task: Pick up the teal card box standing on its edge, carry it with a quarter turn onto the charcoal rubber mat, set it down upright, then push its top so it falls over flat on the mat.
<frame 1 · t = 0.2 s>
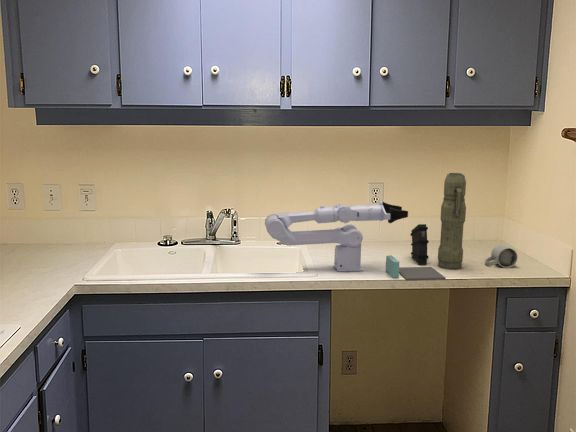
hand: (404, 211, 211), 21 cm above the worktop, tool horizontal, fingers open, 7 cm apart
ceramic mug: (499, 266, 220), on the worktop
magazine: (418, 261, 225), on the worktop
mat: (419, 274, 207), on the worktop
card box: (392, 275, 205), on the worktop
thermos: (449, 266, 217), on the worktop
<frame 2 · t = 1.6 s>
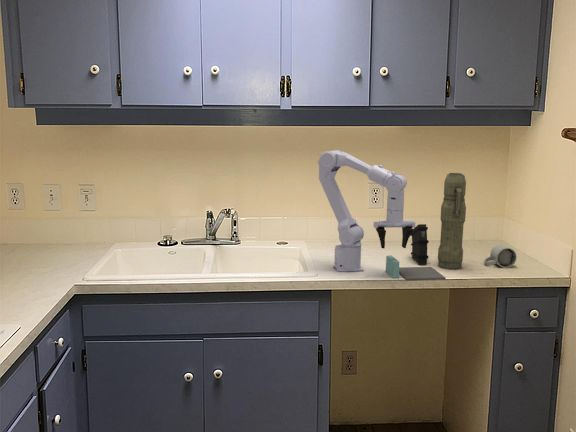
hand: (393, 247, 203), 10 cm above the worktop, tool pointing down, fingers open, 7 cm apart
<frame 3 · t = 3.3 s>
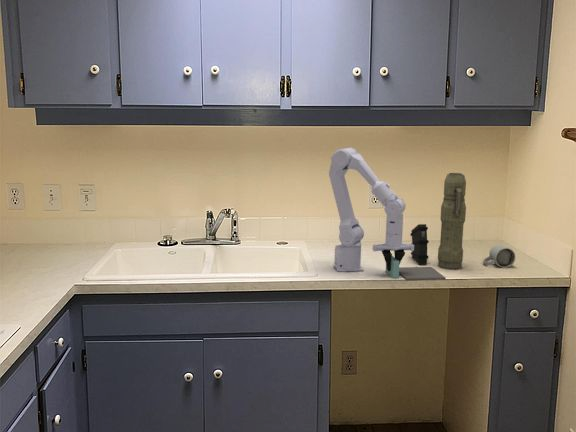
hand: (392, 270, 205), 2 cm above the worktop, tool pointing down, fingers closed on card box, 2 cm apart
card box: (392, 274, 205), on the worktop, touching gripper
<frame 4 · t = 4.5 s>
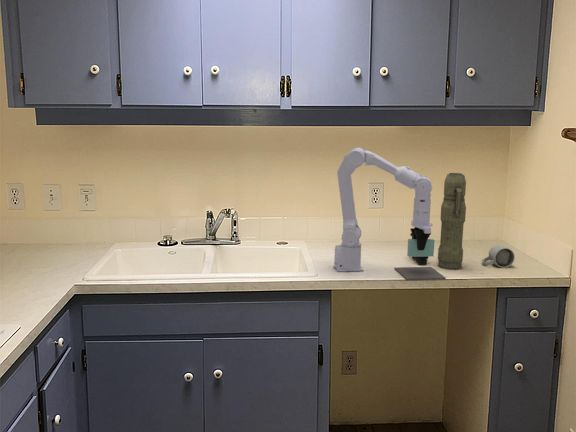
hand: (419, 249, 206), 9 cm above the worktop, tool pointing down, fingers closed on card box
card box: (420, 255, 206), point 6 cm above the worktop, touching gripper
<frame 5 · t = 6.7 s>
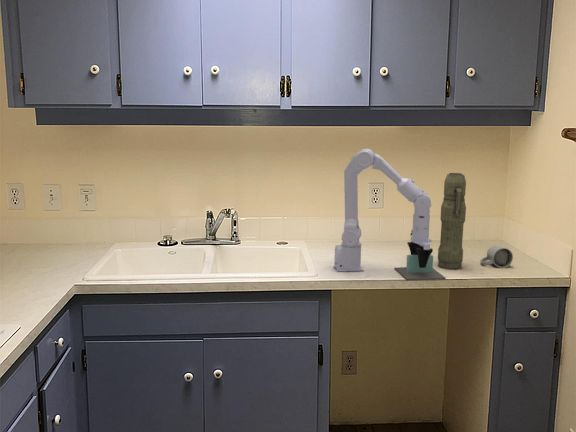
hand: (418, 264, 207), 3 cm above the worktop, tool pointing down, fingers open, 7 cm apart
card box: (419, 271, 207), point 1 cm above the worktop, touching mat
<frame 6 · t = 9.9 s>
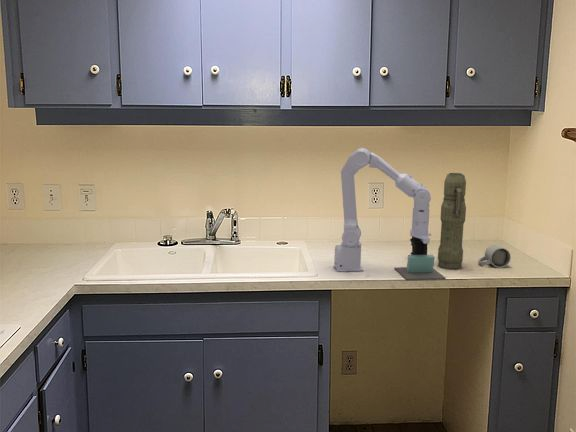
hand: (418, 258, 207), 5 cm above the worktop, tool pointing down, fingers closed
card box: (419, 271, 207), point 1 cm above the worktop, tilted 13°, touching mat
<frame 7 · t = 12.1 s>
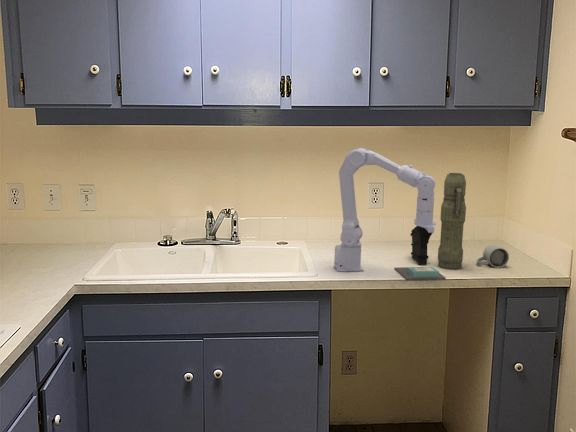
hand: (422, 248, 203), 10 cm above the worktop, tool pointing down, fingers closed
card box: (420, 269, 206), point 2 cm above the worktop, tilted 90°, touching mat
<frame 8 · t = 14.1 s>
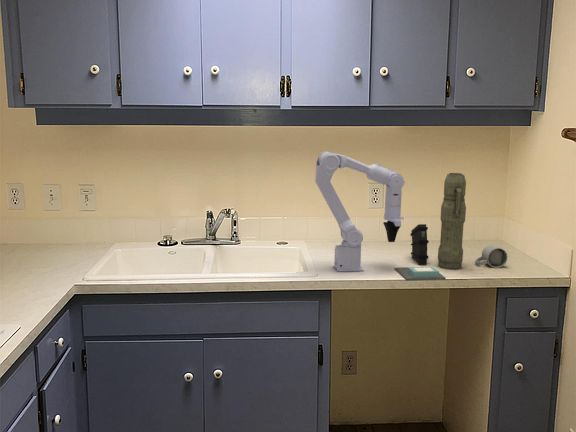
hand: (391, 241, 212), 10 cm above the worktop, tool pointing down, fingers closed
at the end: card box tilted 90°; card box inside the target area on the mat (0.3 cm from its centre), point 1.6 cm above the mat's base; the gripper is holding nothing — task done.
